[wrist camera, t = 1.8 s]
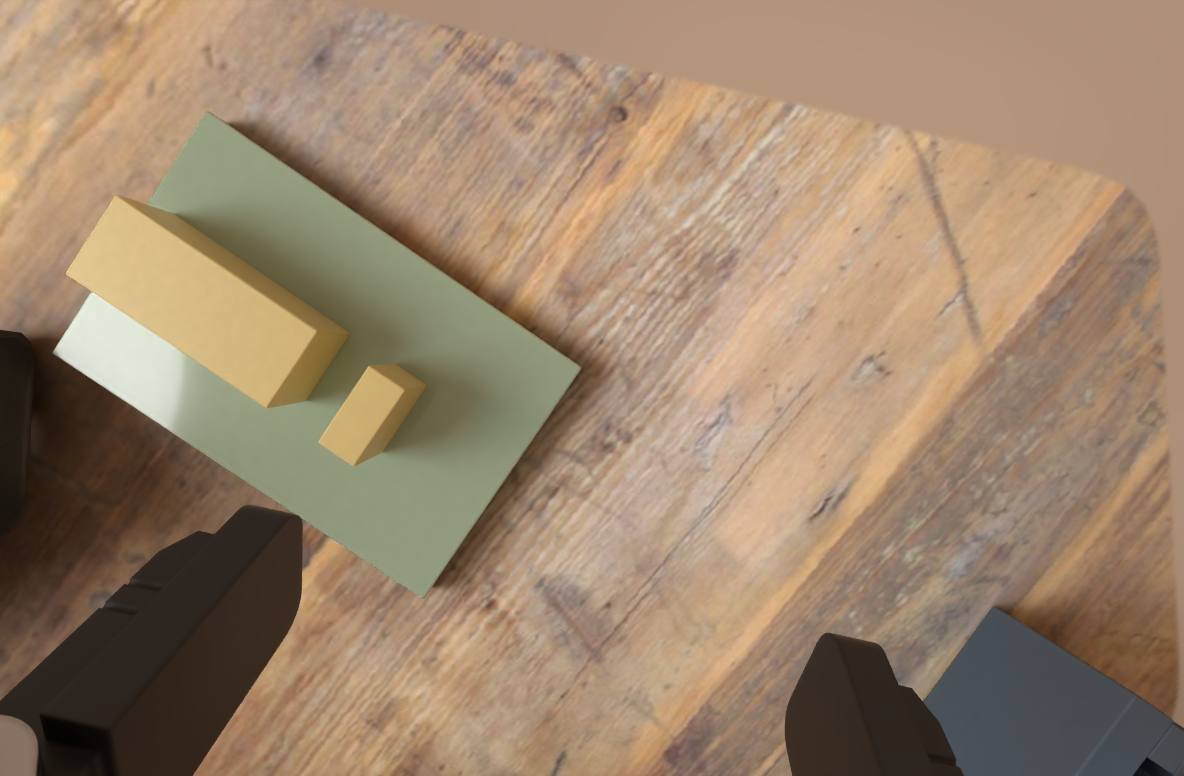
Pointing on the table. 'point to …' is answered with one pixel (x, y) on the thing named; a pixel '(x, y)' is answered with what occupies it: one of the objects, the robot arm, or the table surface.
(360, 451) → the butter pat
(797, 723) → the robot arm
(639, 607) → the table surface
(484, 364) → the butter plate
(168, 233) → the butter stick
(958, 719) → the knife block
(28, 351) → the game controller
